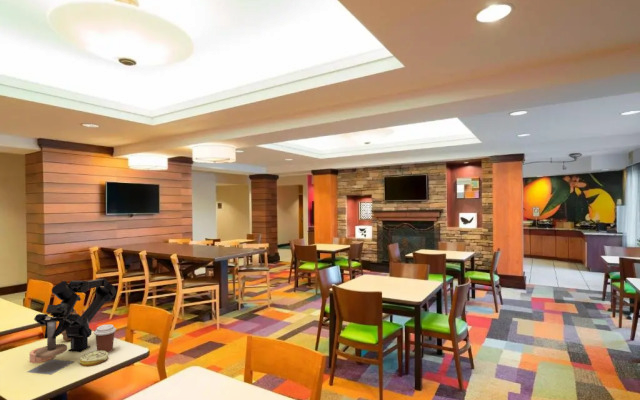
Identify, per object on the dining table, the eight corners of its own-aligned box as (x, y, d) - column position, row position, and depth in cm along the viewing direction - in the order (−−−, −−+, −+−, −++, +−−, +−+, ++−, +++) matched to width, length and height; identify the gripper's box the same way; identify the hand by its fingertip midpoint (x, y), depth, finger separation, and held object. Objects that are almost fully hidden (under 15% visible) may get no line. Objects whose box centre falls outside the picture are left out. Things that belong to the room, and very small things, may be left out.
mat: (75, 362, 160) (75, 361, 160) (50, 375, 148) (50, 374, 148) (51, 359, 161) (51, 359, 161) (26, 372, 150) (26, 372, 150)
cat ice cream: (81, 339, 185) (82, 304, 185) (66, 344, 178) (66, 309, 178) (70, 336, 188) (70, 302, 188) (54, 342, 181) (55, 307, 181)
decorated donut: (111, 361, 161) (111, 353, 161) (83, 370, 153) (83, 361, 153) (103, 354, 168) (103, 346, 168) (77, 362, 160) (77, 353, 160)
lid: (73, 347, 159) (73, 318, 159) (50, 358, 148) (51, 327, 148) (52, 345, 161) (52, 316, 161) (28, 356, 150) (28, 325, 150)
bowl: (59, 355, 166) (59, 347, 166) (41, 364, 157) (41, 355, 157) (43, 353, 167) (43, 345, 167) (24, 362, 158) (24, 353, 158)
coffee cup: (109, 355, 166) (110, 330, 166) (89, 356, 166) (89, 330, 166) (119, 347, 176) (119, 323, 175) (100, 347, 175) (100, 323, 175)
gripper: (37, 296, 158) (16, 329, 147) (79, 296, 159) (61, 330, 148) (50, 308, 166) (31, 341, 155) (90, 308, 166) (74, 341, 155)
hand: (49, 338), depth 153 cm, fingers closed on lid, 3 cm apart
